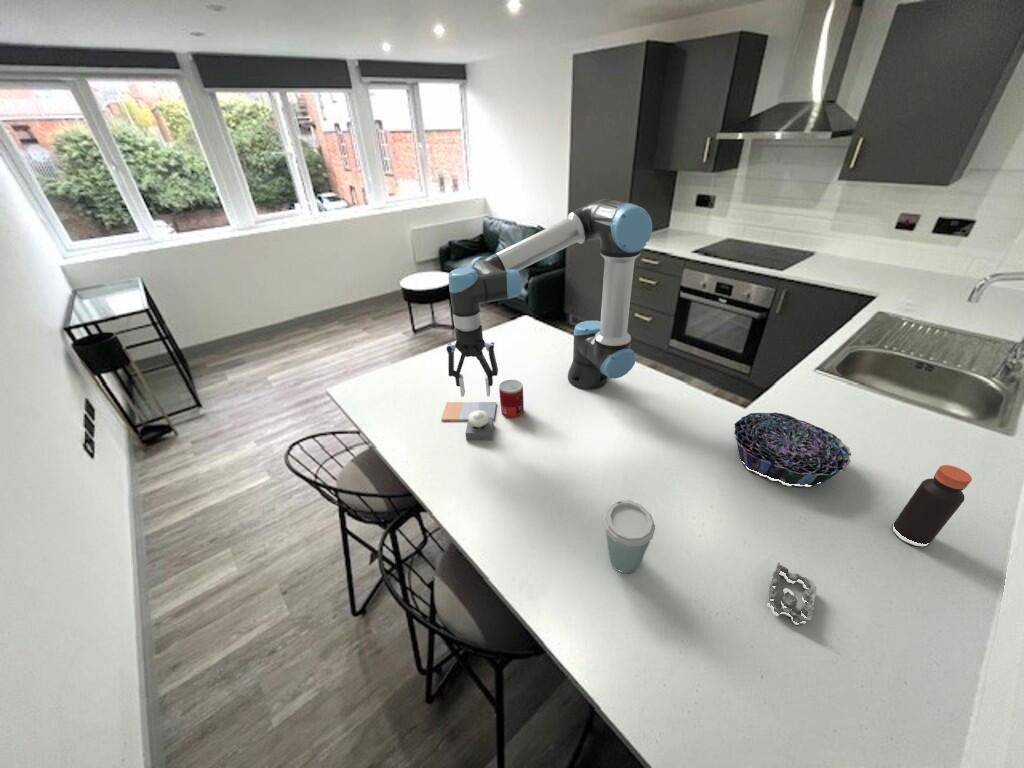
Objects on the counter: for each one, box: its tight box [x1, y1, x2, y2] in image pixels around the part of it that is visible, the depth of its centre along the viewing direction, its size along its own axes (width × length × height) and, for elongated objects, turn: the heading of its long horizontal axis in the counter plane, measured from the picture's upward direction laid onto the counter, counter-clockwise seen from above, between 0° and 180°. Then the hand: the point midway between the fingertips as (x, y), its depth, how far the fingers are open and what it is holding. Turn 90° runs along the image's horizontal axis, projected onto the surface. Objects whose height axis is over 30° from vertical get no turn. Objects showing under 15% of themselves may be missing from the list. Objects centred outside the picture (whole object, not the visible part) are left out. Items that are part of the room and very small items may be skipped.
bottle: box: [893, 464, 973, 544], centre depth 90 cm, size 7×7×20 cm
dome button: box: [468, 410, 489, 429], centre depth 132 cm, size 6×6×6 cm
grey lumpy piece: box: [767, 562, 817, 625], centre depth 84 cm, size 11×8×4 cm
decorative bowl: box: [733, 412, 852, 486], centre depth 115 cm, size 26×28×10 cm
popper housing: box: [465, 417, 494, 441], centre depth 134 cm, size 8×8×3 cm
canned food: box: [498, 379, 525, 419], centre depth 140 cm, size 8×8×11 cm
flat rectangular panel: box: [440, 401, 497, 422], centre depth 144 cm, size 18×10×1 cm, turn 87°
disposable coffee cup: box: [602, 499, 656, 573], centre depth 90 cm, size 11×11×15 cm
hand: (475, 394), depth 127 cm, fingers open, 7 cm apart
